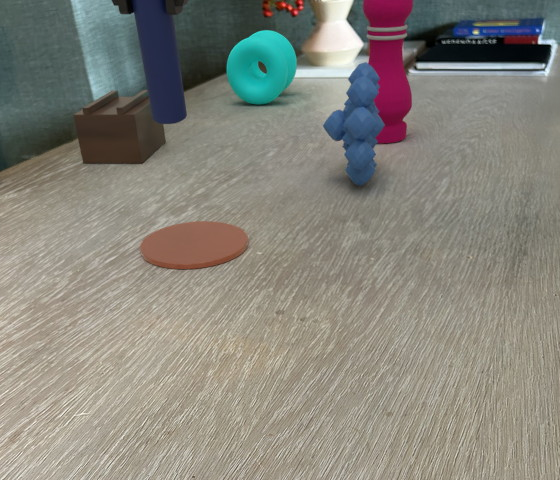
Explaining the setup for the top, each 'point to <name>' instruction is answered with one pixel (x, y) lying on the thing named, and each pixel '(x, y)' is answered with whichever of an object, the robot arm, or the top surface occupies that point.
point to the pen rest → (118, 129)
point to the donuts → (250, 78)
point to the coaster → (194, 245)
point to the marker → (160, 60)
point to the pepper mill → (389, 64)
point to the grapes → (358, 124)
